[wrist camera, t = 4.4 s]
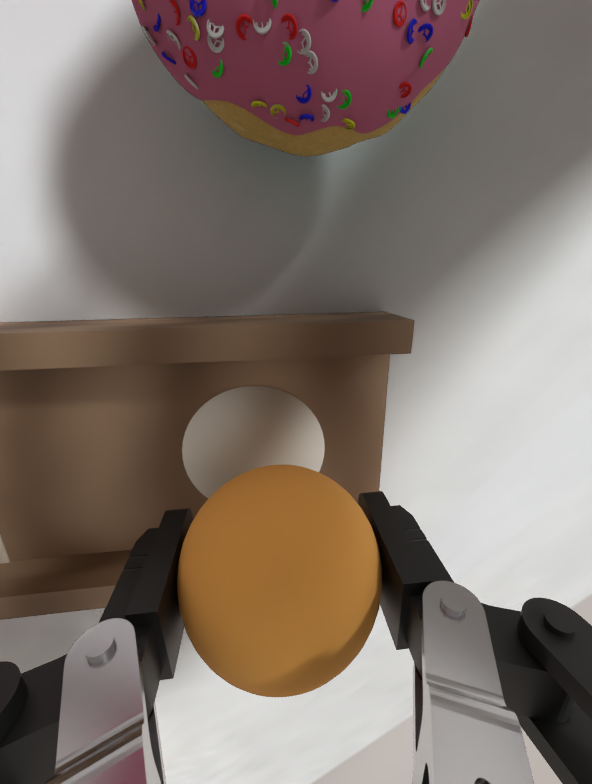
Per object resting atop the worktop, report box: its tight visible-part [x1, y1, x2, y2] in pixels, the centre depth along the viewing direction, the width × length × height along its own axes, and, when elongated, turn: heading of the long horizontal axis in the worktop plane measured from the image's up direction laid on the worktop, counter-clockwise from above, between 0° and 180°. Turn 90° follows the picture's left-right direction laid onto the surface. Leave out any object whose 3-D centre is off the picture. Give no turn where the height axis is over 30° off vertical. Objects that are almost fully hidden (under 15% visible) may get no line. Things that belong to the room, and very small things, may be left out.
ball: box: [177, 465, 382, 697], centre depth 10 cm, size 6×6×6 cm
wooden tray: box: [0, 312, 414, 620], centre depth 13 cm, size 30×12×5 cm, turn 92°
